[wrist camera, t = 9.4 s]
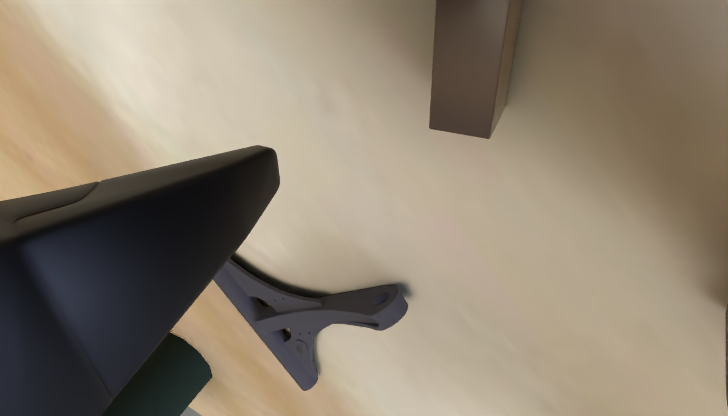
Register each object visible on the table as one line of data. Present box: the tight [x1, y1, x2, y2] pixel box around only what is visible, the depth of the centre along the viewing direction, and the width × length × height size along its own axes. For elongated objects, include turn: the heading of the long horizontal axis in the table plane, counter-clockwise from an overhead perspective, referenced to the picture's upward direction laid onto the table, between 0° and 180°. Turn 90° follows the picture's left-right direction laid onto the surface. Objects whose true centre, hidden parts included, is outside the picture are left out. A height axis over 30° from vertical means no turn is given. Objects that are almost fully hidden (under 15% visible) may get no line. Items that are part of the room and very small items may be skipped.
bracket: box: [213, 259, 408, 391], centre depth 31 cm, size 14×15×3 cm
